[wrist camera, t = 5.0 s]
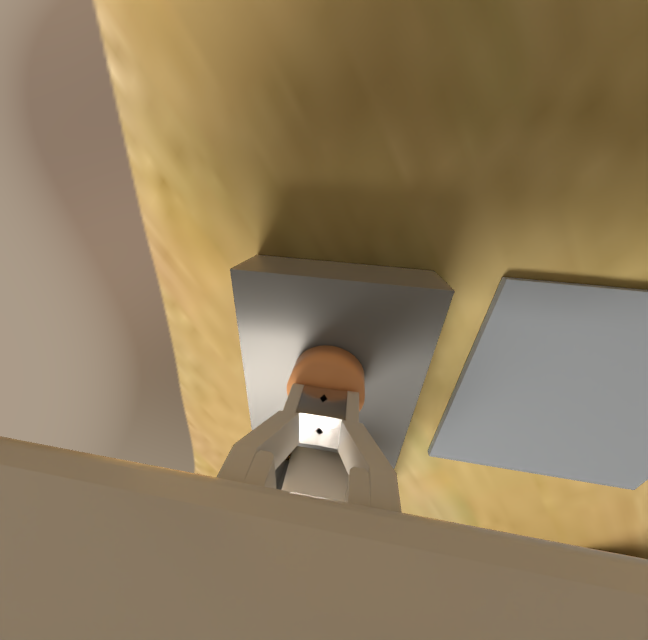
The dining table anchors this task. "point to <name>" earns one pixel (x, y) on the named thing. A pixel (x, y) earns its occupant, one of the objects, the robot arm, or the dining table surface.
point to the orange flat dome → (329, 370)
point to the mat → (555, 385)
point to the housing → (339, 334)
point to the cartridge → (316, 474)
